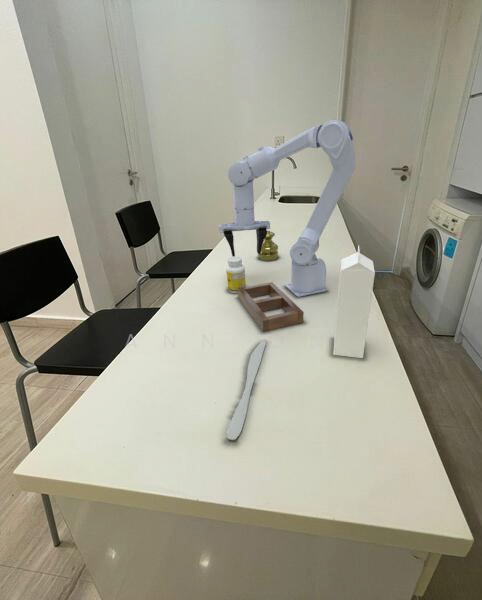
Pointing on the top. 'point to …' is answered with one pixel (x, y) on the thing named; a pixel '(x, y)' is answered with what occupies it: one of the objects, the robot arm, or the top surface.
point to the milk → (353, 305)
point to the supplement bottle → (235, 274)
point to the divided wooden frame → (270, 306)
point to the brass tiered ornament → (269, 248)
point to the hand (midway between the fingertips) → (246, 254)
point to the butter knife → (245, 393)
